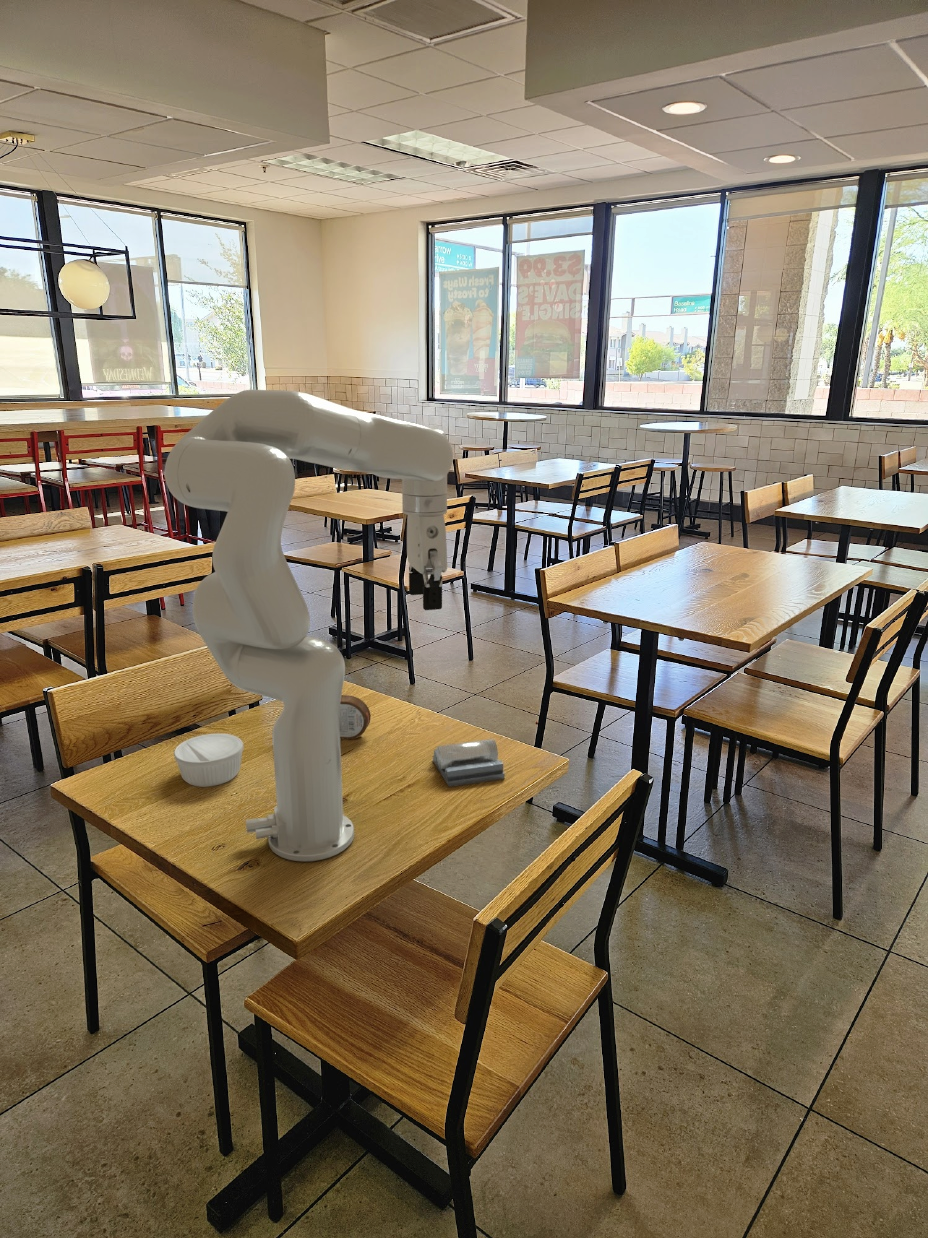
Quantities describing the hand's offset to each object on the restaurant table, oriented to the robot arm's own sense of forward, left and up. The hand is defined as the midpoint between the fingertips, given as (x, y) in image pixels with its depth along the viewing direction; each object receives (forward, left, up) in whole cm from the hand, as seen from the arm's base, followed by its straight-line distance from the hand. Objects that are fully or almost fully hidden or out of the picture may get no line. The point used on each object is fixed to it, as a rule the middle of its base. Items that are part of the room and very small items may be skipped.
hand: (425, 601), depth 141 cm
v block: (+5, -10, -28) cm, 30 cm away
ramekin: (-38, +1, -29) cm, 48 cm away
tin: (-16, +10, -29) cm, 34 cm away
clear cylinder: (+5, -10, -27) cm, 29 cm away
